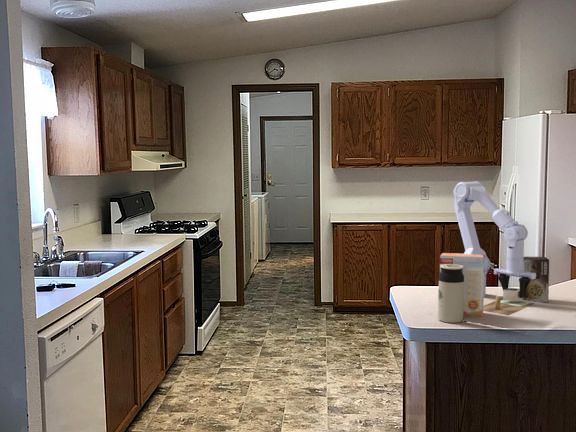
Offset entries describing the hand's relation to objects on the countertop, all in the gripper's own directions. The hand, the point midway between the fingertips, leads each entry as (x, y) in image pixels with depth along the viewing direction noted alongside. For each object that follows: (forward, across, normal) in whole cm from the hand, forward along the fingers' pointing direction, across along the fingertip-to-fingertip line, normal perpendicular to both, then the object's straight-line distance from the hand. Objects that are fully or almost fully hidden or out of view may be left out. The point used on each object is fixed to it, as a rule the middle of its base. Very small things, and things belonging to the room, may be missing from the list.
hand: (513, 296), depth 221 cm
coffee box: (+4, +2, +13) cm, 14 cm away
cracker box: (+4, -7, -26) cm, 27 cm away
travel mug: (+4, -7, -33) cm, 34 cm away
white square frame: (+1, 0, 0) cm, 1 cm away
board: (+3, 0, -7) cm, 8 cm away
